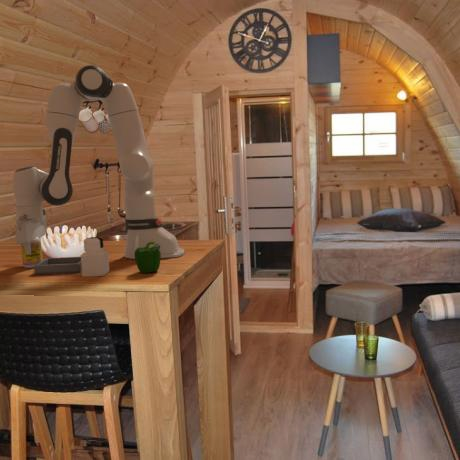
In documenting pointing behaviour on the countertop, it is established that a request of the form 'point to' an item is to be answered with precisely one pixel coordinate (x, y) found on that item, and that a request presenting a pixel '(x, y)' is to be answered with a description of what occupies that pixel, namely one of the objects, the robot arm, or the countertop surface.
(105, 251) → the medicine bottle
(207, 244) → the countertop surface
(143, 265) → the bell pepper
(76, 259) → the tray
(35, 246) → the supplement bottle
